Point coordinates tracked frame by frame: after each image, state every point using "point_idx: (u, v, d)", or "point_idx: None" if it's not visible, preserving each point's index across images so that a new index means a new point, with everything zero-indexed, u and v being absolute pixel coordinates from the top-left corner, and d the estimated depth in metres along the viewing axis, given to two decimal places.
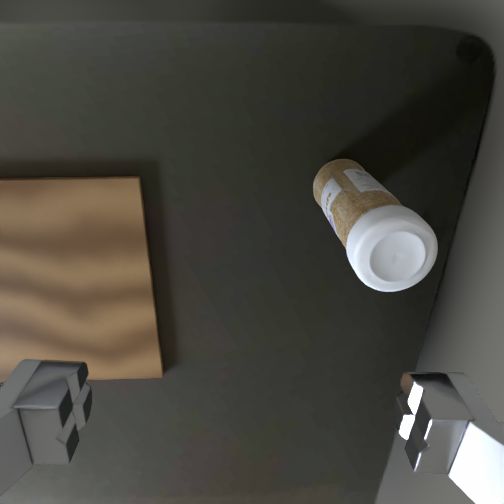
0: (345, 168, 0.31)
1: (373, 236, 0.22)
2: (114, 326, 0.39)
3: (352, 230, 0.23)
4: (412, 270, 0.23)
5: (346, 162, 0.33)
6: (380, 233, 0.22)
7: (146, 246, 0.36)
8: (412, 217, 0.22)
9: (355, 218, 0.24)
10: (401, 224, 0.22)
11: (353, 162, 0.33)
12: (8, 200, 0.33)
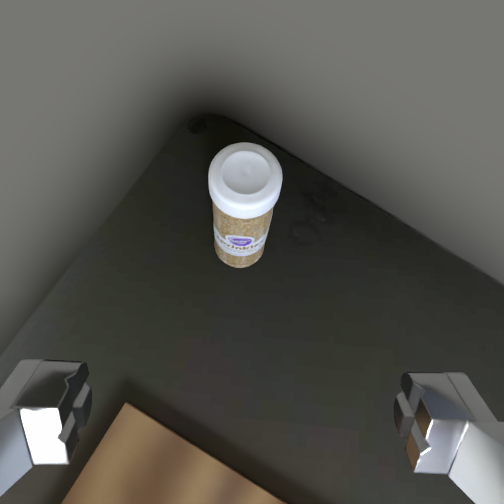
0: None
1: (216, 180, 0.25)
2: None
3: (215, 202, 0.26)
4: (265, 167, 0.26)
5: None
6: (217, 175, 0.25)
7: (188, 443, 0.33)
8: (220, 151, 0.26)
9: None
10: (219, 159, 0.26)
11: None
12: None
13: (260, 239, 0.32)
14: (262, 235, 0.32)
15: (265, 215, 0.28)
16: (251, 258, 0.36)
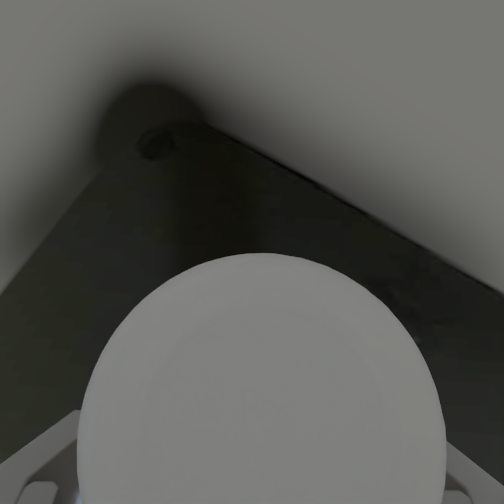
0: None
1: (108, 488, 0.05)
2: None
3: None
4: (364, 389, 0.05)
5: None
6: (115, 452, 0.05)
7: None
8: (143, 300, 0.06)
9: None
10: (132, 350, 0.05)
11: None
12: None
13: None
14: None
15: None
16: None
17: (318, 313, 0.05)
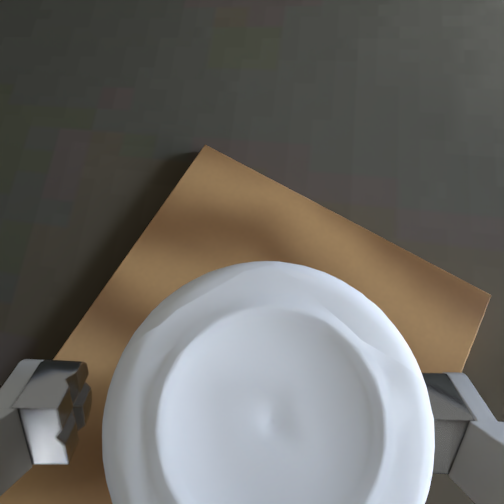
0: None
1: (131, 473, 0.05)
2: None
3: None
4: (359, 385, 0.06)
5: None
6: (136, 441, 0.05)
7: None
8: (159, 304, 0.06)
9: None
10: (150, 350, 0.06)
11: None
12: None
13: None
14: None
15: None
16: None
17: (318, 316, 0.06)
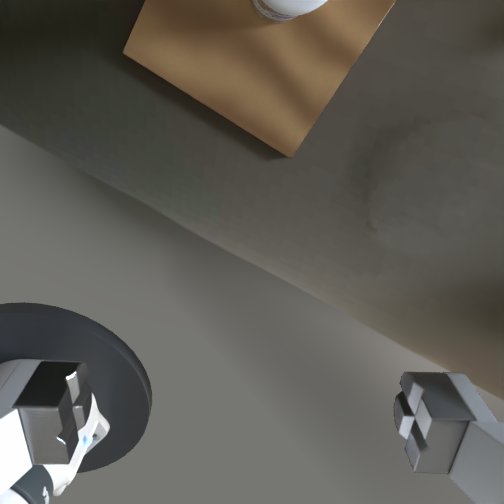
0: None
1: None
2: None
3: None
4: None
5: None
6: None
7: None
8: None
9: None
10: None
11: None
12: (246, 107, 0.35)
13: None
14: None
15: None
16: None
17: None
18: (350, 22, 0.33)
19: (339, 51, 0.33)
